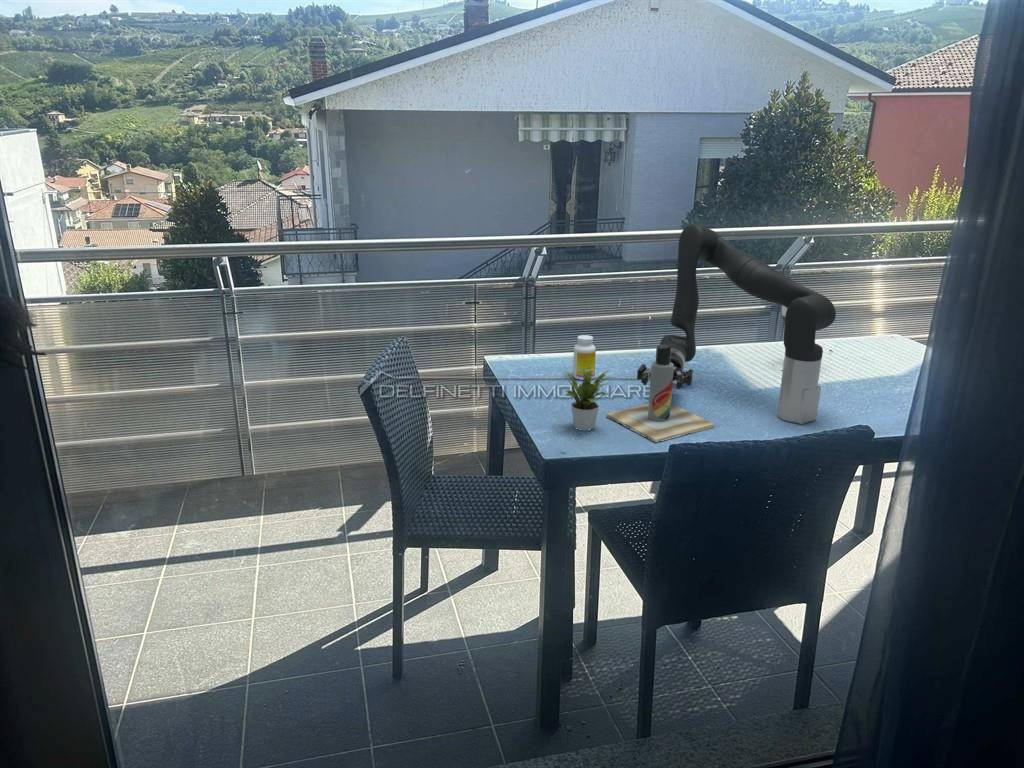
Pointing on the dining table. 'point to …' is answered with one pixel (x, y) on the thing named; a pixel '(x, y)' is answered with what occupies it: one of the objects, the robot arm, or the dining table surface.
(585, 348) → the supplement bottle
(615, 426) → the dining table surface
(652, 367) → the lotion bottle
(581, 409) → the house plant
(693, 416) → the dock
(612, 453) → the dining table surface
